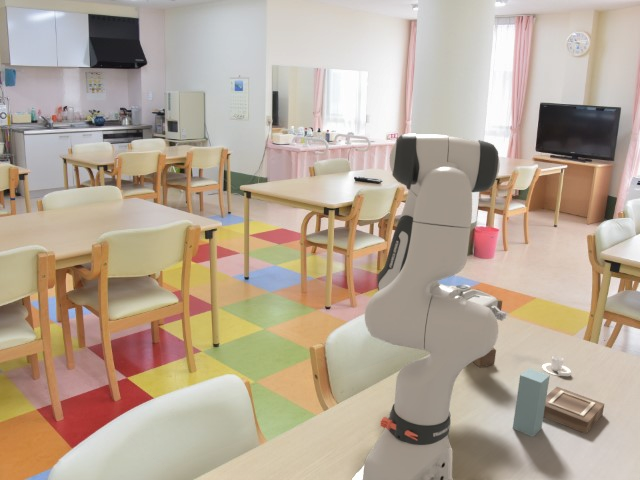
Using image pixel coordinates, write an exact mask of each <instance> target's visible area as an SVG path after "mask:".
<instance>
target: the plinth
mask: <svg viewBox="0 0 640 480" xmlns="http://www.w3.org/2000/svg"><path fill="white" fill-rule="evenodd" d="M604 408H605V403H603V402H601V401H598V400H594V399H592V398H589V397H587V396H584V395H581V394H578V393H575V392H572V391H570V390H567V389H565V388H562V387H559V386H556V387H555V388H554V389H553V390H551V391H550V392H549V393H547V397H546V403H545V409H544V416H543V418H546V419H549V420H550V421H554V422H556V423H559V424H561V425H564V426H566V427H568V428H571V429H573V430H576V431H578V432H581V433H583V434H586V435H587V433H588V432H589V431H590V430H591V428H592V427H593V426H594V425H595V424H596V423H597V422H598V421H599V419H600V418H601V417H602V416H603V415H604Z"/></svg>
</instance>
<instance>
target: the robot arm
mask: <svg viewBox="0 0 640 480" xmlns="http://www.w3.org/2000/svg"><path fill="white" fill-rule="evenodd" d="M500 163H501V162H500V158H499V152H498V149H497V148H496V146H495V145H494V144H492V143H491V142H488V141H484V140H481V139H479V140H473V139H469V138H464V137H463V138H462V137H457V136H451V135H448V134H433V133H432V134H430V133H428V134H426V133H425V134H417V133H416V132H415V133H414V132H412V133H404V134H401V135H400V136H398V137H397V138H396V139H395V143H394V144H393V146H392V148H391V151H390V154H389V167H390V171H391V173H392V174H391V175H392V177H393V178H394V179H395V180H396V182H398V183H400V184H402V185H404V186H405V187H406V189H407V190H408V192H407V196H406V200H405V202H404V205H403V208H402V212H401V213H400V216H399V219H398V221H397V224H396V227H395V230H394V233H393V235H392V239H391V243H390V245H389V246H390V247H389V250H388V254H387V257H386V261H385V264H384V267H383V268H382V269H381V270H380V271H379V272H378V274H377V276H376V284H377V285H376V286H377V290H378V291H376V292H375V293H373V294H372V296H371V297H370V298H369V300H368V301H367V304H366V306H365V311H364V321H365V326H366V329H367V331H368V332H369V334H370V336H371V337H373V338H375V339H378V340H380V341H382V342H384V343H388V344H390V345H394V346H399V347H405V348H410V349H416V350H422V351H425V352H428V353H429V355H427V356H426V357H423V358H419V359H415V360H412V361H410V362H408V363H406V364H405V365H403V367H401V368H400V370H398V373H397V375H396V379H395V380H396V381H395V393H394V403H393V404H392V406H391V410H390V411H389V417H386V416H384V417H382V418H381V420H380V424H379V425H380V427H382V428H384V430H383V432H382V433H381V435H380V436H379V437H378V439H377V441H376V442H375V444H374V445H373V447H372V448H371V449H370V451H369V453H368V454H367V456H366V459H365V462H364V464H363V466H362V467H361V468H360V469H359V470H358V472H357V473H356V474H355V475H354V476H353V477H352V479H351V480H454V479H453V448H452V446H451V442H450V439H449V433H450V427H451V422H452V421H451V420H452V419H451V412H450V407H451V399H452V396H453V395H452V394H453V390H454V386H455V382H456V380H457V378H458V376H459V375H460V373H462V371H463V370H464V369H465V368H466V367H467V366H468V365H470V364H471V363H473V361H474V360H476V359H478V358H481V357H483V356H485V355H486V354H487V353H489V352H490V351H491V349H492V348H495V345H496V343H497V340H498V337H499V324H498V320H499V321H504V320H505V319H506V318H507V314H506V312H505V311H502V310H501V311H500V310H499V309H498V308H497V304H498V300H497V299H498V298H497V297H496V296H494V295H491V294H489V293H487V292H485V293H484V291H483V292H482V290H481V291H479V290H480V289H479V290H474V289H475V288H474V289H471V288H472V286H471V285H467V284H460V285H459V284H458V285H445V284H443V283H440V280H444V279H447V278H450V277H452V276H453V277H454V276H455V275H457V274H459V273H460V272H462V271H463V269H464V268H465V267H466V264H467V259H468V251H469V243H470V235H471V227H472V219H473V218H472V217H473V215H472V214H473V193H479V192H480V193H481V192H486V191H488V190H489V189H490V188H491V187H493V186H494V184H495V182H496V179H497V178H498V176H499V172H500V166H501V164H500ZM496 298H497V299H496ZM495 316H496V317H495Z"/></svg>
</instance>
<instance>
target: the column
mask: <svg viewBox="0 0 640 480" xmlns="http://www.w3.org/2000/svg"><path fill="white" fill-rule="evenodd" d="M550 376H551V374H548V373H544V372H542V371H538V370H536V369H532V368H529V367H528V368H527V369H526V370H524V372H522V373H521V374H520V375H519V381H518V382H519V383H518V388H517V394H516V403H515V408H514V417H513V423H512V424H513V425H512V429H514V430H516V431H518V432H521V433H523V434H526V435H528V436H530V437H532V438H533V437H535V436H536V434H537V433H539V431H540V430H542V429H543V421H544V417H543V416H544V409H545V403H546V397H547V395H548V390H549V383H550V382H549V381H550V378H551V377H550Z"/></svg>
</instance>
